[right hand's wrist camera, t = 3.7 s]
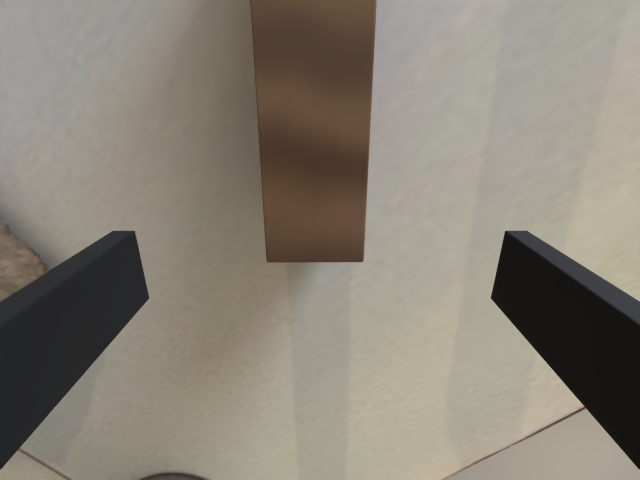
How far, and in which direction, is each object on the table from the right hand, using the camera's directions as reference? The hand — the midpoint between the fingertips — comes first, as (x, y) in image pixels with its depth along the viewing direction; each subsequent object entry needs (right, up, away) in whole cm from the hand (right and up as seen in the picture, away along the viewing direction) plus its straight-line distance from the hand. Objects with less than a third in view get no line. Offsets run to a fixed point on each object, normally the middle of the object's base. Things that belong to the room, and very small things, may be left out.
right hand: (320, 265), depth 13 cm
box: (0, +14, +15) cm, 21 cm away
